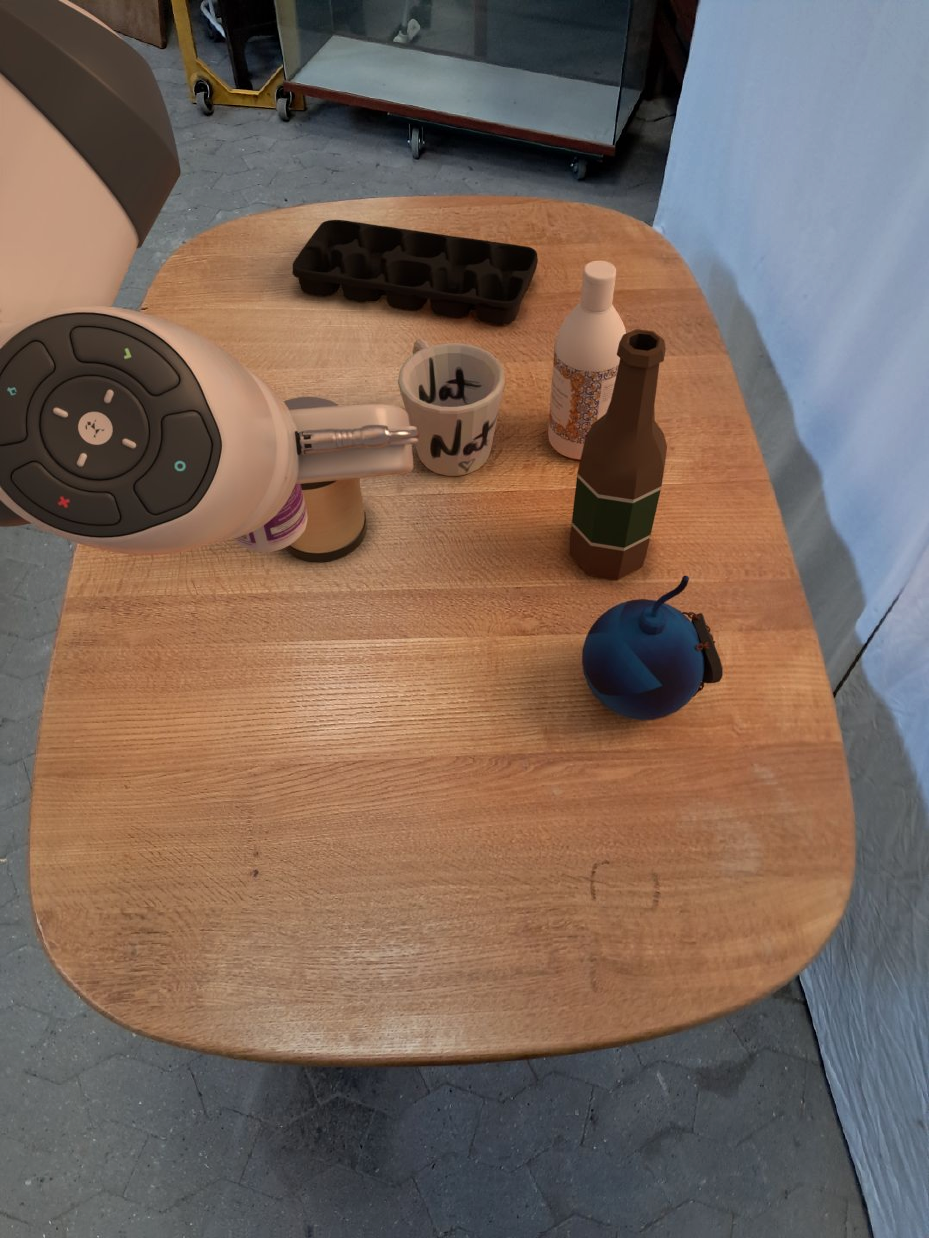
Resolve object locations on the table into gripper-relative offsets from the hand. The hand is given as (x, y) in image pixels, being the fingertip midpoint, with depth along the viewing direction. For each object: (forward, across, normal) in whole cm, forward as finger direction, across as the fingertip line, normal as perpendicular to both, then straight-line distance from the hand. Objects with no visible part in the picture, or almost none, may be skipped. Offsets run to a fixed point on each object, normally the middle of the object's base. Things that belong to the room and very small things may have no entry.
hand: (252, 460), depth 57 cm
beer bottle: (+27, -28, +10) cm, 40 cm away
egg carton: (+60, -14, -22) cm, 65 cm away
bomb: (+16, -28, +22) cm, 39 cm away
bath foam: (+38, -29, -1) cm, 48 cm away
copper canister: (+31, -1, +6) cm, 32 cm away
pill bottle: (+4, 0, +4) cm, 6 cm away
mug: (+40, -14, -2) cm, 42 cm away
